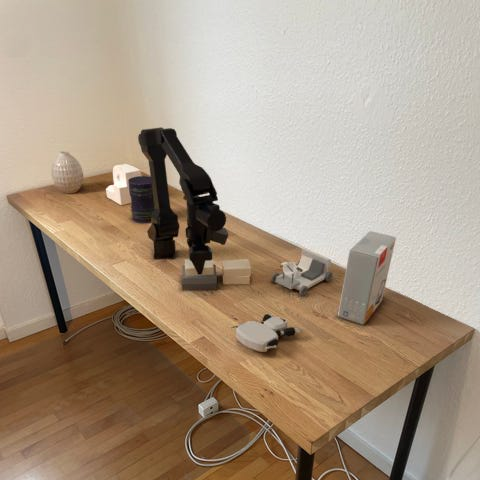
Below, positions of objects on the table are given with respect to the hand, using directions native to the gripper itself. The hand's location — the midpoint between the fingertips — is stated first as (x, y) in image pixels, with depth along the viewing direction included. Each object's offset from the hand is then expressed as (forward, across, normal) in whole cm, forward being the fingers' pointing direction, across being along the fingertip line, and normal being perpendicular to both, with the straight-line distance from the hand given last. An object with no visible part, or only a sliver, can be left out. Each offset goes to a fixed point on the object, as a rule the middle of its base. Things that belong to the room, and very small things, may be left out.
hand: (199, 269), depth 141 cm
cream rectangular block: (+1, 0, 0) cm, 1 cm away
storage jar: (+5, +54, +16) cm, 56 cm away
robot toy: (+5, -31, -14) cm, 34 cm away
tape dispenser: (+5, +79, +26) cm, 83 cm away
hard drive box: (+5, -20, -43) cm, 48 cm away
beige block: (+5, +1, -11) cm, 12 cm away
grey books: (+5, 0, 0) cm, 5 cm away
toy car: (+5, -4, -30) cm, 30 cm away
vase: (+5, +89, +49) cm, 102 cm away
